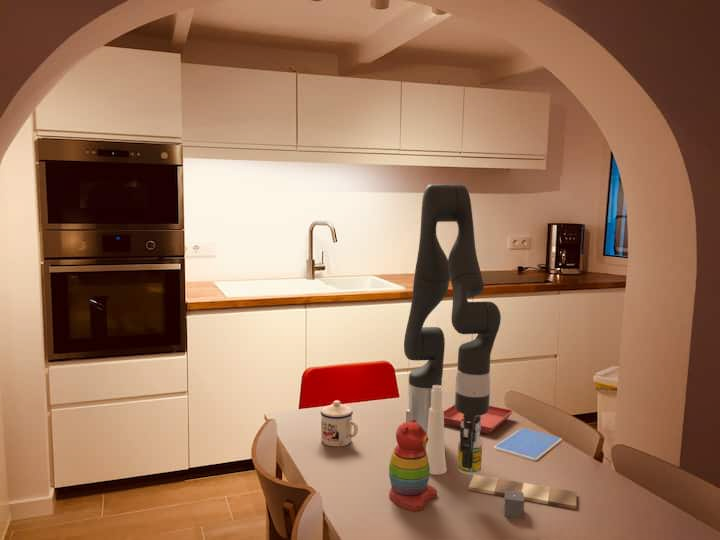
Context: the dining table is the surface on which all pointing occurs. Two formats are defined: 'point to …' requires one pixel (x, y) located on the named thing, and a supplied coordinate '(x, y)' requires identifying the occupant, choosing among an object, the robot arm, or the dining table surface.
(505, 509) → the die
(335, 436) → the teacup with lid
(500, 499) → the dining table surface
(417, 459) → the stacking bear
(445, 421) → the plant saucer
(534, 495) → the track
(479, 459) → the supplement bottle
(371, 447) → the dining table surface
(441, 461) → the cosmetic bottle
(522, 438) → the blue flat rectangular panel
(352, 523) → the dining table surface
